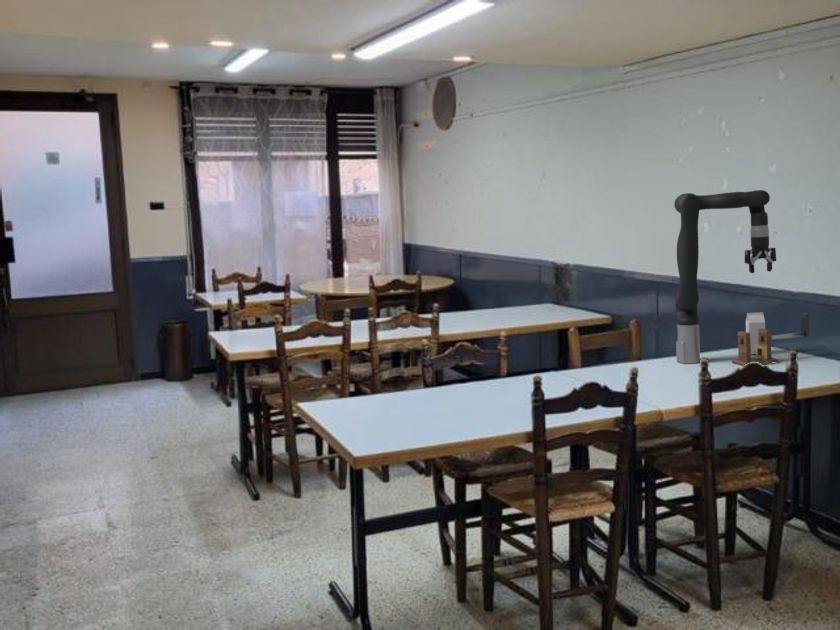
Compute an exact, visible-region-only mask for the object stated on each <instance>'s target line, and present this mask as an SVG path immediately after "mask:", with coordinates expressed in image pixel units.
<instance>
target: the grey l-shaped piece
mask: <svg viewBox="0 0 840 630" xmlns="http://www.w3.org/2000/svg"><path fill="white" fill-rule="evenodd" d="M809 315H810V313H805V312H802V313H801V314H800V323H801V324H800V328H801V331H799V332H792V333H782V334H775V335H774V334H773V335H771V341H776V340H777V341H778V340H786V339H792V338H793V339H795V338H801V337H806V338H808V337H810V323H809V322H810V319H809V318H810V316H809Z"/></svg>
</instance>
